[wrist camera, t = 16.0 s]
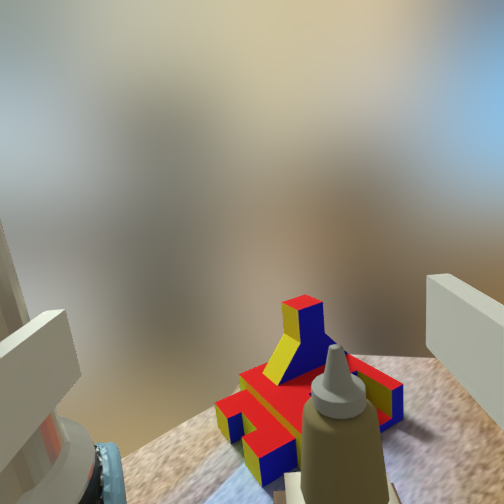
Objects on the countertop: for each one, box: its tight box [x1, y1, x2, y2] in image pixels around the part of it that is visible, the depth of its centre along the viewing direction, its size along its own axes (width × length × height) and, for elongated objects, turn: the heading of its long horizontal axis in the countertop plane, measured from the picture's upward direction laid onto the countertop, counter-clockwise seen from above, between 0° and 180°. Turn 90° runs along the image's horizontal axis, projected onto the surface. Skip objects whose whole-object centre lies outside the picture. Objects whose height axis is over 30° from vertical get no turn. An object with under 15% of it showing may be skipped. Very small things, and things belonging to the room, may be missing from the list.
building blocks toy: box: [215, 295, 403, 487], centre depth 58 cm, size 19×25×18 cm
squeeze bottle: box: [300, 344, 390, 504], centre depth 33 cm, size 8×8×18 cm
